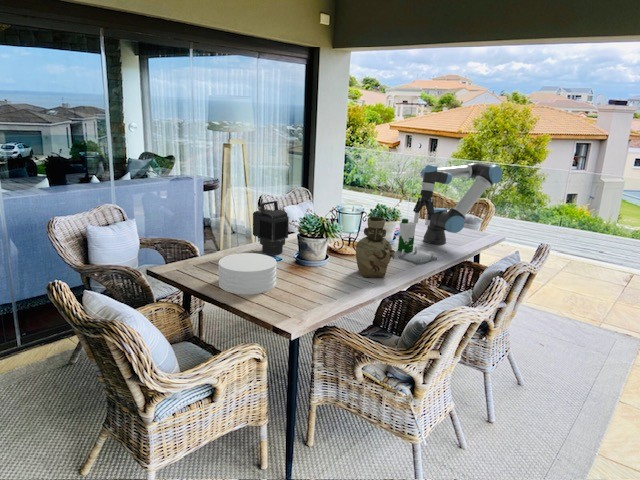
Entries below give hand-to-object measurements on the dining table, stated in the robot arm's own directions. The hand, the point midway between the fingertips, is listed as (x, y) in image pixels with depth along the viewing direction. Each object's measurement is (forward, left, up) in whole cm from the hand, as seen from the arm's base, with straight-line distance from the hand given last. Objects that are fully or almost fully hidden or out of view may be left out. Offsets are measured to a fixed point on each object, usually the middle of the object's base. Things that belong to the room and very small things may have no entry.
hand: (421, 224), depth 297 cm
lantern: (+78, -51, -18) cm, 94 cm away
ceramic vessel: (+54, +10, -18) cm, 58 cm away
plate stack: (+118, -14, -18) cm, 120 cm away
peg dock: (+12, +8, -18) cm, 23 cm away
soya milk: (+5, -7, -18) cm, 20 cm away
